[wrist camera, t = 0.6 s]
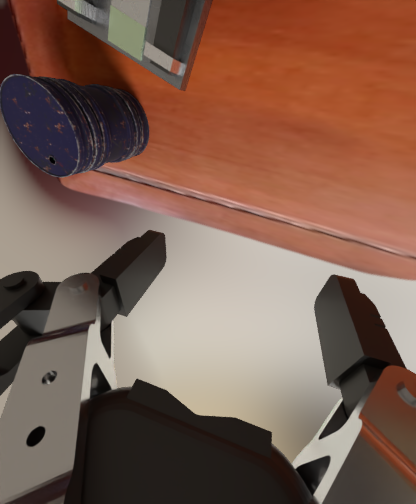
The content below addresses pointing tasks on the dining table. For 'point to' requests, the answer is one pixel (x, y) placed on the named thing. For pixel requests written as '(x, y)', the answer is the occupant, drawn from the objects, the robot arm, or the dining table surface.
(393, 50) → the dining table surface
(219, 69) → the dining table surface
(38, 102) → the dark blue cylinder
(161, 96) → the dining table surface
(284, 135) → the dining table surface
